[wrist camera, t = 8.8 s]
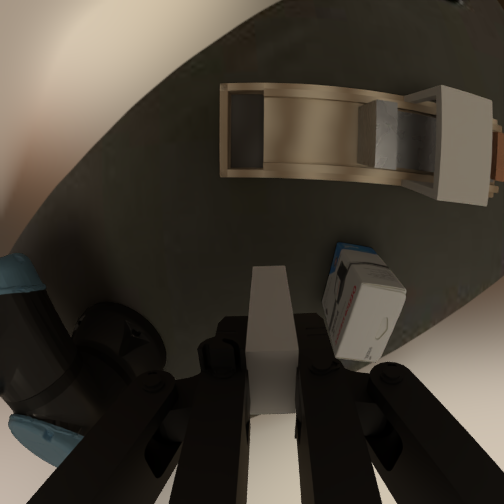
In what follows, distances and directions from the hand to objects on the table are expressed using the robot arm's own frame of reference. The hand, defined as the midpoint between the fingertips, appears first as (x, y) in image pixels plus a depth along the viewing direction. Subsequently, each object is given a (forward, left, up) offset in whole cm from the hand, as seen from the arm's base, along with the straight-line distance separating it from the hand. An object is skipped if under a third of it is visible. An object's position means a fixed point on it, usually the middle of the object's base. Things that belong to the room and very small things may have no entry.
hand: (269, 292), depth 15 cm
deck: (+11, +8, -22) cm, 26 cm away
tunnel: (+17, +8, -19) cm, 27 cm away
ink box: (+9, -9, -22) cm, 26 cm away
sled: (+18, +8, -19) cm, 27 cm away
